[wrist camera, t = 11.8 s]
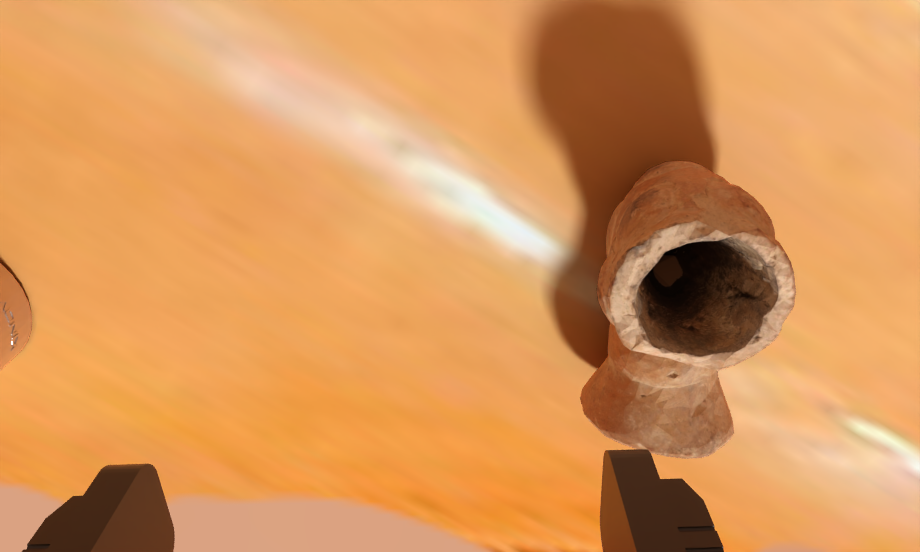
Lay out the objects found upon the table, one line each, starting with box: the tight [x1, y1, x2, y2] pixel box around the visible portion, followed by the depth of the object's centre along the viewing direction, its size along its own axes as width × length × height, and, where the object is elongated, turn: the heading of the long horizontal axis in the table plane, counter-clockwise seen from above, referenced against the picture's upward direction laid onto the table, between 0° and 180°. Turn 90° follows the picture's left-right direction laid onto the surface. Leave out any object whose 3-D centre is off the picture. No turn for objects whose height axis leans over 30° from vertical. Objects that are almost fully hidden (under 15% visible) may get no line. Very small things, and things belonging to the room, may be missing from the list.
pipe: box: [580, 161, 796, 459], centre depth 37 cm, size 9×16×10 cm, turn 2°
